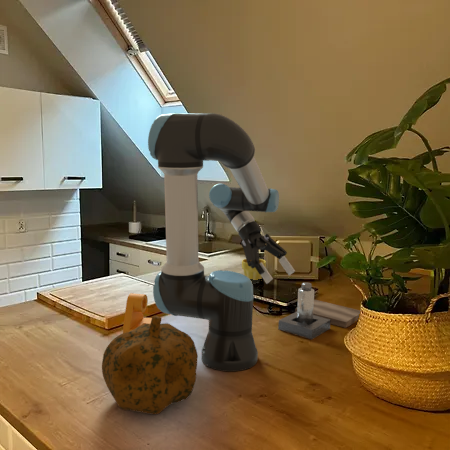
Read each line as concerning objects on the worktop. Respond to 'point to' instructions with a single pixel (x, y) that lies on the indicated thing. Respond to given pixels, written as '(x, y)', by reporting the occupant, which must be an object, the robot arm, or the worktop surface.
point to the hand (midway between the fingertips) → (281, 277)
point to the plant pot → (252, 270)
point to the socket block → (304, 326)
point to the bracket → (135, 312)
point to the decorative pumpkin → (150, 367)
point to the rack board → (335, 313)
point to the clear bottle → (305, 304)
